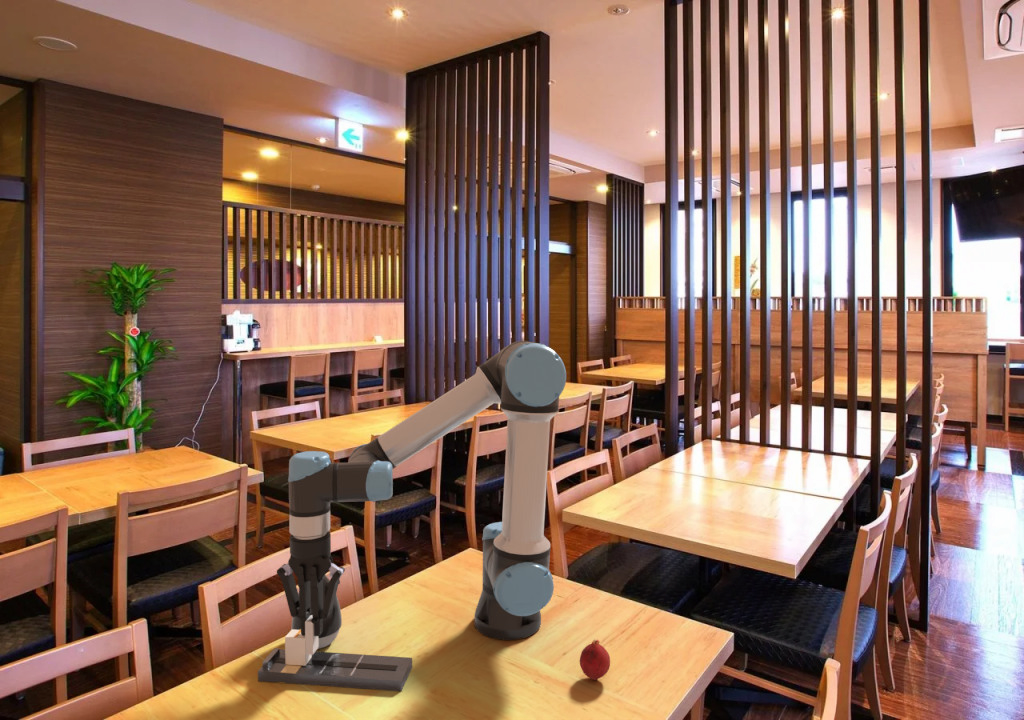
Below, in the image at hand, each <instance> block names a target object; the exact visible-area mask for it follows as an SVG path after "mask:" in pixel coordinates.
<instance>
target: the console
mask: <svg viewBox="0 0 1024 720" xmlns="http://www.w3.org/2000/svg"><path fill="white" fill-rule="evenodd" d="M412 669H413V657H407V656H406V657H405V656H390V655H389V656H388V655H375V654H374V655H373V654H362V653H361V654H360V653H359V654H358V653H345V652H344V653H342V652H331V651H330V652H329V651H328V652H327V651H326V652H325V651H317V650H316V651H315V653H314V654H313V655H312V658H311V659H310V660H309V662H308V663H307V664H306V666H302V665H288V664H285V648H284V649H283V648H280V647H279V648H277V647H274V648H273V649H272V651H271V652H270V653H269V654H268V655H267V656H266V657H265V658H264V660H263V661H262V666H261V667H260V668H259V669H258V671H257V681H258V682H265V681H266V683H277V682H285V683H284V684H291V683H293V684H294V683H295V684H294V685H305V686H306V685H308V686H319V687H320V686H322V687H335V688H351V689H363V690H375V691H377V690H380V691H389V692H390V691H391V692H403V689H404V687H405V685H406V683H407V681H408V677H409V676H410V673H411V672H412Z"/></svg>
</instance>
